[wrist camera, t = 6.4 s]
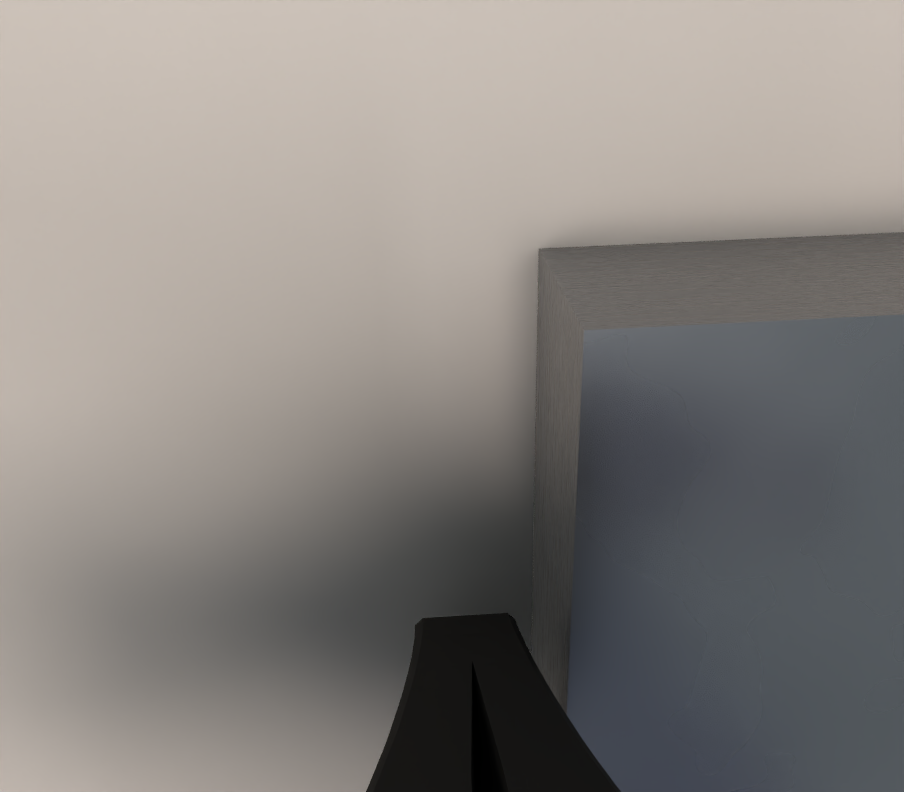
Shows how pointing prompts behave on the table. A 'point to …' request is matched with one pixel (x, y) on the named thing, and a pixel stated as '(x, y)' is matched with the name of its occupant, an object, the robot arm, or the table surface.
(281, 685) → the table surface
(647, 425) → the steel slab
